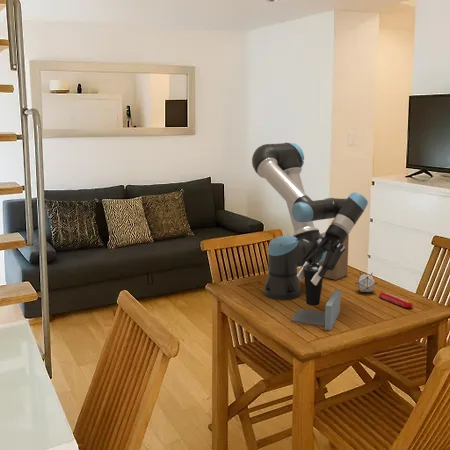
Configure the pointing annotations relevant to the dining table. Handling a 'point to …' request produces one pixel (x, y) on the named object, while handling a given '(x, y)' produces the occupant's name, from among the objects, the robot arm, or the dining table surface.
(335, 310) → the low wall
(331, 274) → the wooden block
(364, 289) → the game die
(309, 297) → the drinking cup
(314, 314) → the rubber mat
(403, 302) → the candy bar
